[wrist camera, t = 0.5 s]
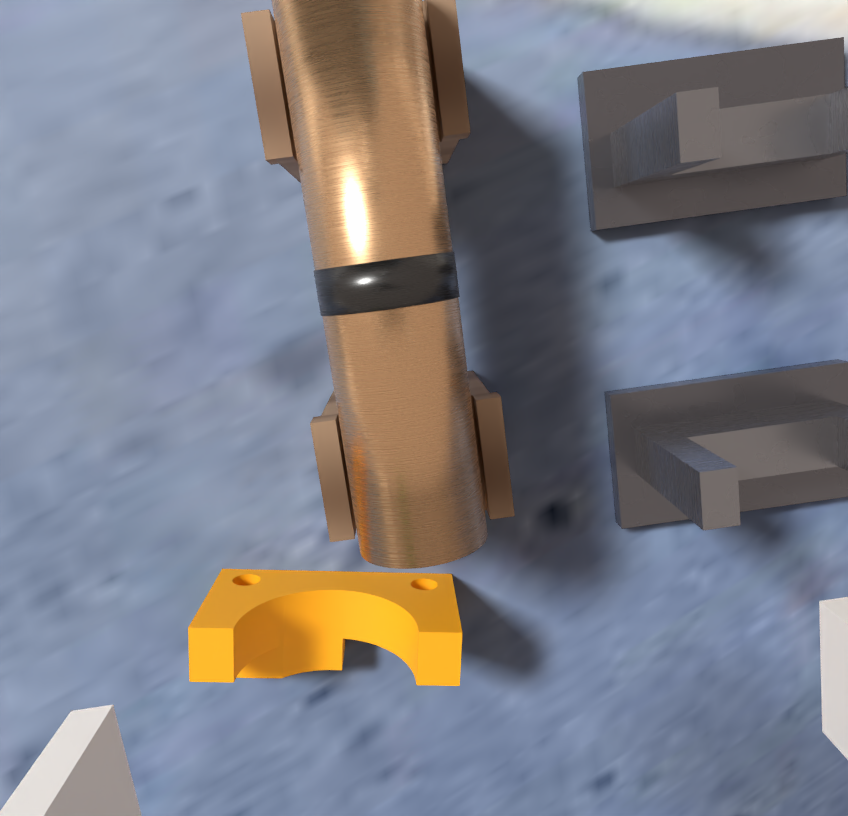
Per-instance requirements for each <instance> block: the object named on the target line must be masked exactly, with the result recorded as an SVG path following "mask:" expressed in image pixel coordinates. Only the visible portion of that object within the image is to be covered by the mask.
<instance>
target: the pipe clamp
mask: <svg viewBox="0 0 848 816" xmlns="http://www.w3.org/2000/svg"><path fill="white" fill-rule="evenodd" d="M188 635H189V679H190V682H234V681H235V679H236V678H284V677H287V676H290V675H294V674H298V673H303V672H309V671H317V670H342V666H343V659H344V651H345V639H352V640H358V641H363V642H367V643H371V644H374V645H377V646H380V647H382V648H385V649H387V650H389V651H391V652H393V653H394V654H396V655H397V656H399V657H400V658H401V659H402V660H404V661H405V662H406V663H407V664H408V666H409V667H410V668H411V670H412V672H413V674H414V676H415V679H416V685H442V686H460V668H461V650H462V628H461V622H460V617H459V611H458V606H457V600H456V595H455V589H454V584H453V578H452V574H431V573H386V572H340V571H295V570H250V569H222V570H221V572H220V574H219V575H218V577H217V579H216V581H215V582H214V584H213V586H212V588H211V589H210V591H209V593H208V595H207V596H206V598H205V600H204V601H203V603H202V605H201V607H200V608H199V610H198V612H197V614H196V615H195V617H194V619H193V620H192V622H191V624H190V626H189V627H188Z"/></svg>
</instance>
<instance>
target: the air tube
mask: <svg viewBox="0 0 848 816" xmlns="http://www.w3.org/2000/svg"><path fill="white" fill-rule="evenodd" d="M272 5H273V11H274V18H275V24H276V30H277V36H278V43H279V49H280V55H281V61H282V68H283V74H284V80H285V86H286V92H287V99H288V105H289V111H290V117H291V124H292V130H293V136H294V142H295V148H296V155H297V161H298V167H299V173H300V180H301V186H302V192H303V198H304V204H305V211H306V217H307V223H308V229H309V236H310V242H311V248H312V254H313V260H314V267H315V271H314V276H315V282H316V288H317V294H318V300H319V307H320V313H321V316H323V323H324V329H325V335H326V341H327V348H328V354H329V360H330V366H331V372H332V379H333V385H334V391H335V397H336V404H337V410H338V416H339V422H340V429H341V435H342V441H343V447H344V453H345V460H346V466H347V472H348V478H349V485H350V491H351V497H352V503H353V509H354V516H355V522H356V528H357V534H358V541H359V547H360V553H361V555H362V557H363V558H364V559H365V560H366V561H368V562H370V563H372V564H375V565H378V566H382V567H388V568H399V569H409V568H422V567H429V566H435V565H440V564H444V563H448V562H451V561H454V560H457V559H460V558H462V557H465V556H467V555H469V554H471V553H473V552H474V551H476V550H477V549H479V548H480V547H481V546H482V545H483V544H484V543H485V541H486V539H487V536H488V534H487V526H486V518H485V510H484V502H483V493H482V485H481V477H480V469H479V461H478V453H477V445H476V437H475V429H474V420H473V412H472V404H471V396H470V388H469V380H468V372H467V364H466V356H465V348H464V339H463V331H462V323H461V315H460V307H459V299H458V297H460V296H459V288H458V279H457V271H456V263H455V255H454V252H453V250H452V242H451V234H450V226H449V218H448V210H447V202H446V194H445V185H444V177H443V169H442V161H441V153H440V145H439V137H438V129H437V121H436V113H435V104H434V96H433V88H432V80H431V72H430V64H429V56H428V48H427V40H426V31H425V23H424V15H423V7H422V0H272Z"/></svg>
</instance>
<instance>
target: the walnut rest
mask: <svg viewBox="0 0 848 816" xmlns="http://www.w3.org/2000/svg"><path fill="white" fill-rule="evenodd" d="M422 7H423V15H424V23H425V31H426V40H427V48H428V56H429V64H430V72H431V80H432V88H433V96H434V104H435V113H436V121H437V129H438V137H439V145H440V153H441V161H442V164H446V163H448V162H449V160H450V158H451V155H452V153H453V151H454V149H455V147H456V145H457V143H458V141H459V139H465V138H468V136H469V134H470V124H469V115H468V106H467V98H466V89H465V80H464V72H463V63H462V54H461V45H460V37H459V28H458V19H457V11H456V2H455V0H424V1H422ZM241 16H242V22H243V28H244V34H245V40H246V46H247V52H248V58H249V64H250V70H251V76H252V81H253V87H254V93H255V99H256V105H257V111H258V117H259V123H260V129H261V135H262V141H263V147H264V153H265V158H266V161H268V162H269V163H270V164H271V165H272V164H280V165H281V166H282V167H284V168H285V169H286V170H287V171H288V172H289V173H290V174H291V175H292V176H294V177H295V178H296V179H297V180H298V181H299V182H300V183H301V180H300V173H299V167H298V161H297V155H296V148H295V142H294V136H293V130H292V124H291V117H290V111H289V105H288V99H287V92H286V86H285V80H284V74H283V68H282V61H281V55H280V49H279V43H278V36H277V30H276V24H275V21H274V19H273V17H272V15H271V12H270V10H261V11H254V12H246V13H241ZM467 372H468V380H469V388H470V396H471V404H472V412H473V420H474V429H475V437H476V445H477V453H478V461H479V469H480V477H481V485H482V493H483V502H484V510H487V512H488V514H489V517H490V520H491V519H498V518H505V517H512V516H515V515H514V506H513V498H512V489H511V480H510V471H509V463H508V454H507V445H506V437H505V428H504V419H503V411H502V402H501V396H500V395H499V394H498V393H497V392H492V393H489V391H488V390H487V389H486V387H485V386H484V385H483V383H482V382H481V381H480V379H479V378H478V377H477V375H476V374H475V373H474V371H467ZM310 425H311V431H312V437H313V443H314V449H315V455H316V461H317V466H318V472H319V478H320V484H321V490H322V496H323V502H324V508H325V514H326V520H327V526H328V532H329V538H330V542H335V541H342V540H349V539H355V533H356V522H355V516H354V509H353V503H352V497H351V491H350V485H349V478H348V472H347V466H346V460H345V453H344V447H343V441H342V435H341V429H340V422H339V416H338V410H337V404H336V397H335V391H333V393H332V395H331V397H330V399H329V401H328V403H327V405H326V407H325V409H324V411H323V413H322V415H321V416H319V417H313V419H312V421H311V423H310Z"/></svg>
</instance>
